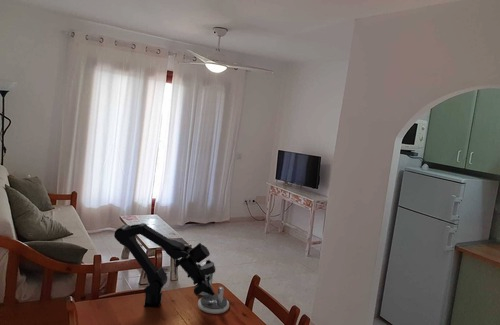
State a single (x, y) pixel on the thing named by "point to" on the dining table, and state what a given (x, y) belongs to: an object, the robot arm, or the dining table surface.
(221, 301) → the dial
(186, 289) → the dining table surface
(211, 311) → the base
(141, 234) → the robot arm
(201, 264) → the syrup box
